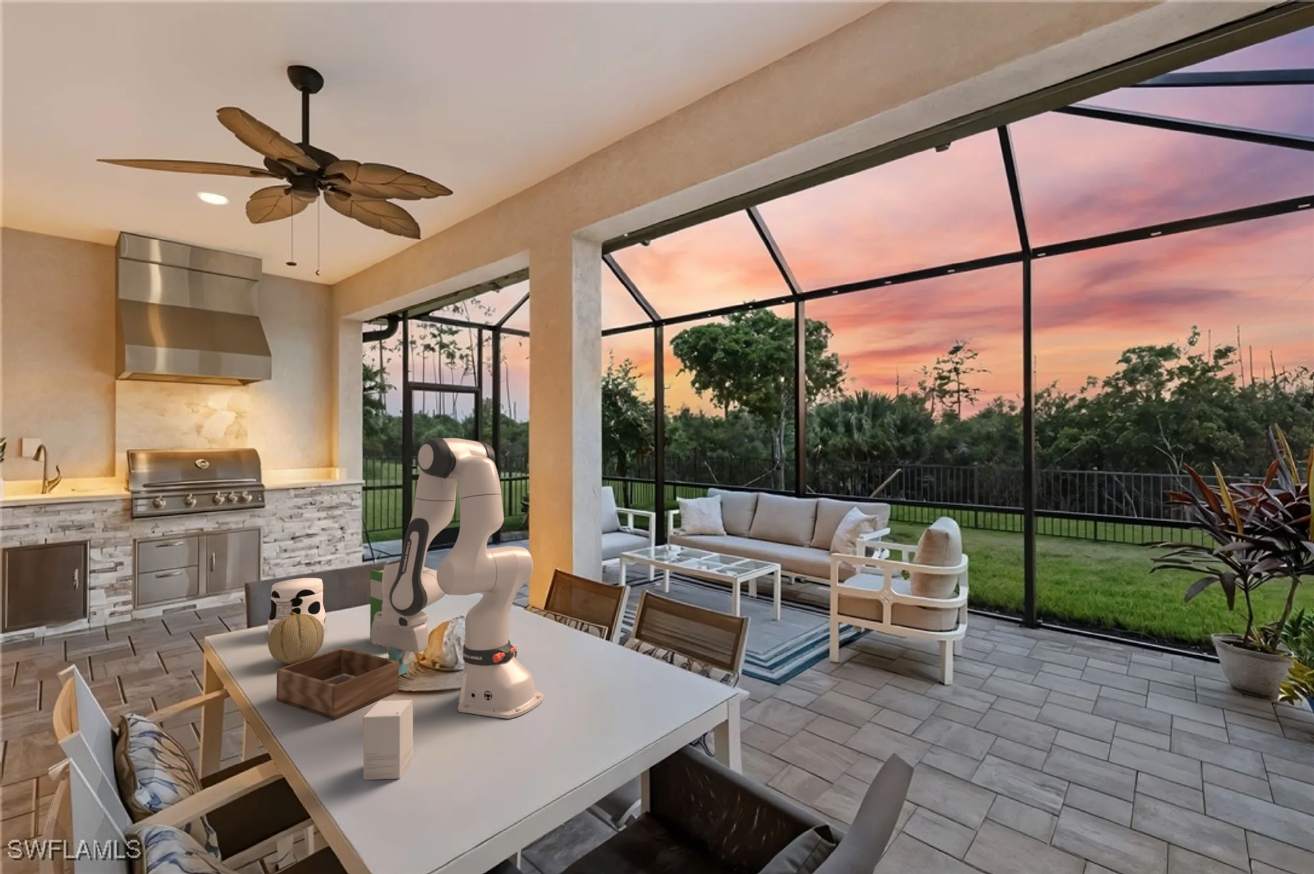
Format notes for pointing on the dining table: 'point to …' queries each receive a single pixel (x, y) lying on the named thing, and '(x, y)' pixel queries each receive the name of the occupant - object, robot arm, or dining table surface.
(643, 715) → the dining table surface
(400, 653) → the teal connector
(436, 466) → the robot arm
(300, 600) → the milk container
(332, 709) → the walled box
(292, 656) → the cantaloupe
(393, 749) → the supplement box
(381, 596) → the hardback book
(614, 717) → the dining table surface
